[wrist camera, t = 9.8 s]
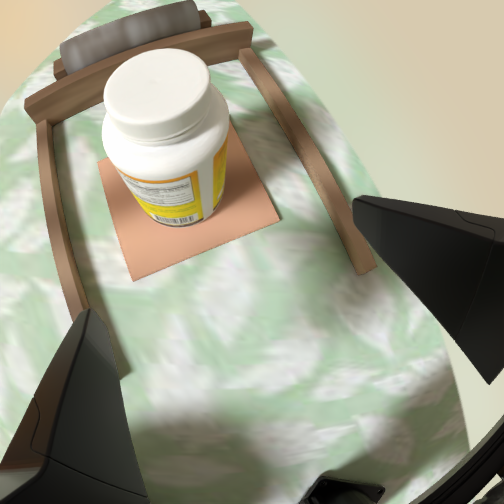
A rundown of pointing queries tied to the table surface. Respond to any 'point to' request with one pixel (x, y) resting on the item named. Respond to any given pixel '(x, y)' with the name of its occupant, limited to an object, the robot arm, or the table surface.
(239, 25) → the frame
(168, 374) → the table surface
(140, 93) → the supplement bottle
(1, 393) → the table surface
